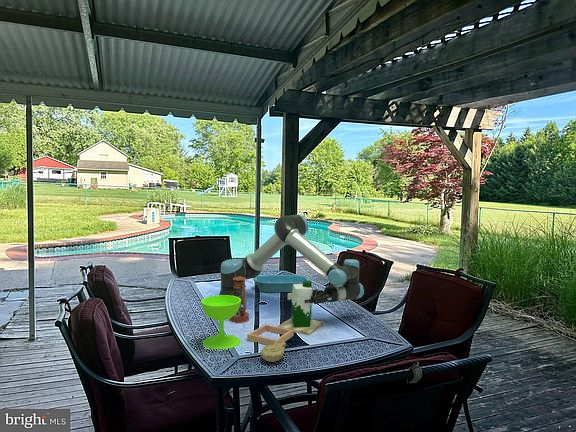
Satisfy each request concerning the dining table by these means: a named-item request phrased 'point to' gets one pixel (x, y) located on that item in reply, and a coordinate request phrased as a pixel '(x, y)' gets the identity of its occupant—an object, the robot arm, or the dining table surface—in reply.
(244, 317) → the lantern
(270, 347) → the oil lamp
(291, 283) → the casserole dish
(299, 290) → the green white milk carton
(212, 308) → the wineglass
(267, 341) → the holder
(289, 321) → the board
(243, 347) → the dining table surface
